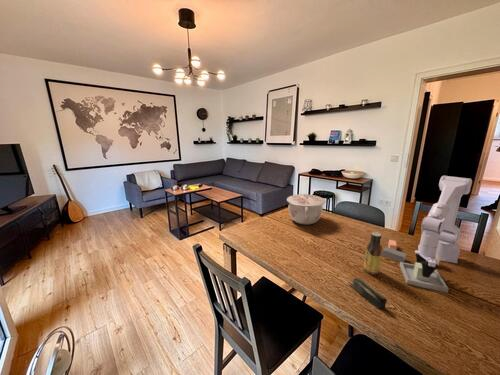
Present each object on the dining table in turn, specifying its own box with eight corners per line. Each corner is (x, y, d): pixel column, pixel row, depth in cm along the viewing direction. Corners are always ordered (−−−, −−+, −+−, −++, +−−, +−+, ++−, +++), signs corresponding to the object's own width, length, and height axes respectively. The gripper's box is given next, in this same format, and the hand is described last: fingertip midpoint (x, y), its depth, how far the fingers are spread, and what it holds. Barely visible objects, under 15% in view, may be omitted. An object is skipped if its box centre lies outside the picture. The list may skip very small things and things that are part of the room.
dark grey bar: (388, 298, 77) (353, 273, 90) (383, 301, 75) (348, 275, 88) (386, 309, 78) (352, 283, 91) (380, 311, 77) (347, 285, 90)
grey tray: (434, 272, 96) (435, 268, 95) (447, 293, 84) (448, 288, 83) (399, 265, 101) (400, 261, 101) (406, 284, 89) (407, 279, 89)
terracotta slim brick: (394, 246, 119) (395, 240, 118) (396, 251, 113) (397, 245, 112) (388, 245, 120) (389, 239, 119) (389, 250, 115) (390, 244, 114)
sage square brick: (425, 275, 94) (427, 264, 92) (428, 281, 90) (431, 270, 88) (413, 272, 96) (415, 262, 94) (416, 278, 92) (418, 267, 90)
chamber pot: (301, 211, 174) (301, 187, 168) (331, 221, 153) (333, 194, 148) (278, 220, 157) (278, 194, 151) (308, 233, 136) (310, 203, 131)
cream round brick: (436, 262, 103) (438, 254, 102) (439, 268, 99) (442, 259, 98) (424, 260, 105) (426, 252, 104) (427, 266, 101) (429, 257, 99)
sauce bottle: (365, 265, 102) (370, 228, 97) (379, 270, 99) (385, 232, 93) (361, 272, 98) (367, 234, 92) (377, 277, 94) (383, 238, 89)
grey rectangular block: (384, 252, 113) (385, 246, 112) (405, 260, 106) (406, 253, 105) (381, 255, 110) (382, 249, 109) (402, 263, 103) (404, 257, 102)
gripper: (412, 234, 96) (407, 260, 100) (422, 250, 84) (416, 279, 87) (431, 237, 93) (425, 263, 97) (445, 254, 81) (437, 283, 84)
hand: (422, 271), depth 92 cm, fingers open, 7 cm apart
